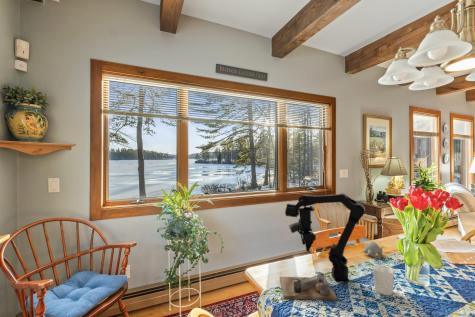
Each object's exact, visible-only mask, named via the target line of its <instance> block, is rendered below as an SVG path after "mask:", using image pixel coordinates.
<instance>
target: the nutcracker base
mask: <svg viewBox="0 0 475 317" xmlns="http://www.w3.org/2000/svg"><path fill="white" fill-rule="evenodd" d="M308 278H311V277H307V276H306V277H304V276H303V277H302V276H299V277H298V276H279V283H280V286H281V290H282V297H283V299H287V300H288V299H290V300H292V299H294V300H318V301H319V300H321V301H323V300H324V301H338V296H337V295H336V293H335V291H334V290H333V288H332V287H331V284H330V283H329V282H328V280H327V278H326V277H324V283H320V282H319V283H317V284H316V286H313V287H311V288H308V289H306V290H303V291H301V292H300V293H296V292H294V279H300V280H301V281H303V280H305V279H308Z"/></svg>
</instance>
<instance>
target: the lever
mask: <svg viewBox="0 0 475 317" xmlns="http://www.w3.org/2000/svg"><path fill="white" fill-rule="evenodd" d="M324 278H325V276H324V273H323V272H321V271H316V272H315V275H314V276H312V277H310V278H308V279H305V280H303V281H301V280H300V279H294V292H296V293H300V292H301V291H303V290H306V289H308V288H311V287H313V286H316V284H317V283H319V282H320V283H324Z"/></svg>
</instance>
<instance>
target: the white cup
mask: <svg viewBox="0 0 475 317" xmlns="http://www.w3.org/2000/svg"><path fill="white" fill-rule="evenodd" d="M372 271H373V272H372V273H373V283H374V284H373V285H374V290H375V292H377V293H378V294H381V295H384V296H392V295H393V293H394V292H393V289H394V279H395V278H394V277H395V276H394V275H395V271H394V268H391V267H390V266H387V265H384V264H375V265H373V266H372Z"/></svg>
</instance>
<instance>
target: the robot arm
mask: <svg viewBox="0 0 475 317" xmlns="http://www.w3.org/2000/svg"><path fill="white" fill-rule="evenodd" d="M328 203H329V204H330V203H331V204H332V203H341V204H342V205H343V206H344V207H345V208H346V209H347V210H349V216H348V220H347V222H346V225H345V227H344V229H343V231H342V233H341V235H340V237H339V240H338V241H337V243H336V244H335V243H333V244H332V245H331V247H330V249H329V251H328V254H327V255H328V260H329V261H330V263H331V264H332V268H331V277H332V278H333V279H334V280H335V282H338V283H339V282H341V283H350V279H349V267H348V266H347V265H348V259H347V258H346V257H345V256H344V254H345V248H346V245H347V244H348V242H349V239H350V237H351V236H352V233H353V231H354V228H355V227H356V225H357V223H358V222H359V221H360V220H361V218H363V216H364V214H365V212H366V207H365V205H364V204H363V203H362V202H357V201H356V200H354V199H353V198H351V197H349V196H348V195H347V194H345V193H338V194H323V195H314V194H308V193H307V194H306V193H305V194H302V195H301V196H299V198H298V202H297V203H296V204H293V203H287V204H286V208H285V209H284V210H285V211H284V213H285V217H291V218H298V217H299V219H298V221H297V222H294V223H291V224H289V225H288V227H289V230H290V232H291V234H294V233H296V232H297V233H299V234H300V238H301V243H302V245H303V246H304V245H305V250H306V252H310V249H311V248H312V245H313V244H314V242H315V241H316V239H317V237H316V236H317V235H316V234H315V233H314V232H313V228H312V224H313V221H312V214H311V213H312V212H314V211H315V210H316V209H315V208H314V207H313V205H316V204H328Z"/></svg>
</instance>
